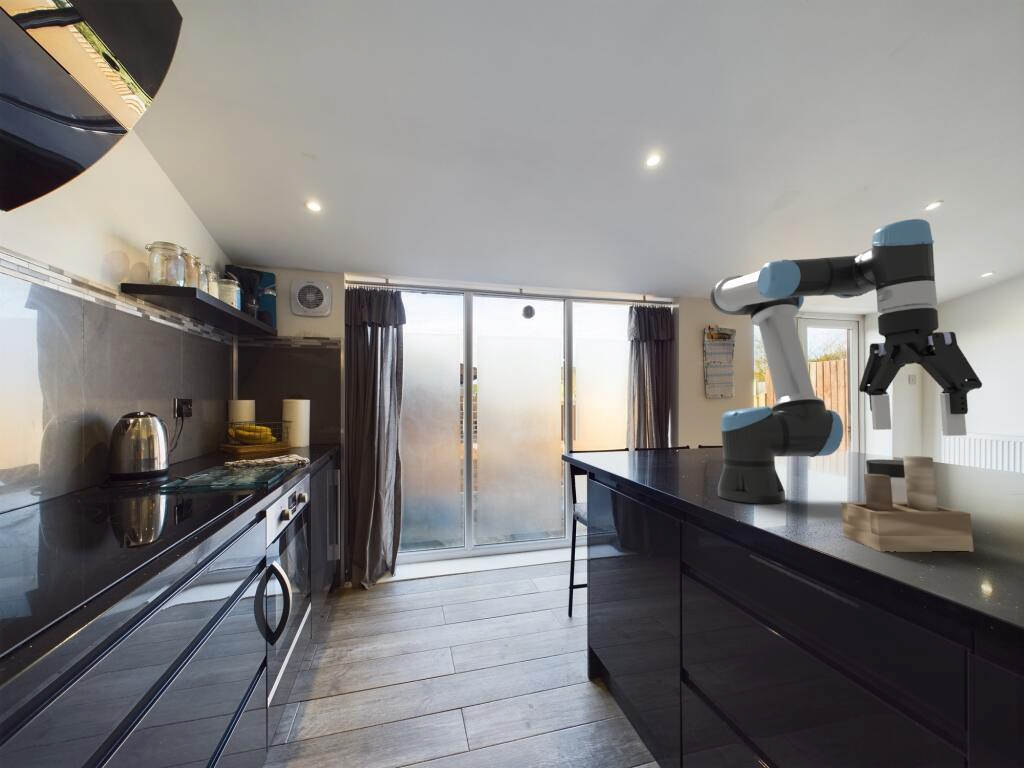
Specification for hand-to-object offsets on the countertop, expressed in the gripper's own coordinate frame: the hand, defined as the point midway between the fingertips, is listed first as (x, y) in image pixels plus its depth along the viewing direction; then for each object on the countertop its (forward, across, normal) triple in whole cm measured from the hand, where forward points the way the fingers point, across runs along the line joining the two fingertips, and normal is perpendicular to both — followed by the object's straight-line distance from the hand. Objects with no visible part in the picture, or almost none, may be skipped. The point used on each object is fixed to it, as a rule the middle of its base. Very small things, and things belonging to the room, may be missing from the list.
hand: (914, 432), depth 70 cm
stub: (+16, +1, -7) cm, 18 cm away
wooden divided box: (+19, +1, -4) cm, 19 cm away
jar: (+19, -12, +6) cm, 24 cm away
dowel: (+16, +1, 0) cm, 16 cm away
